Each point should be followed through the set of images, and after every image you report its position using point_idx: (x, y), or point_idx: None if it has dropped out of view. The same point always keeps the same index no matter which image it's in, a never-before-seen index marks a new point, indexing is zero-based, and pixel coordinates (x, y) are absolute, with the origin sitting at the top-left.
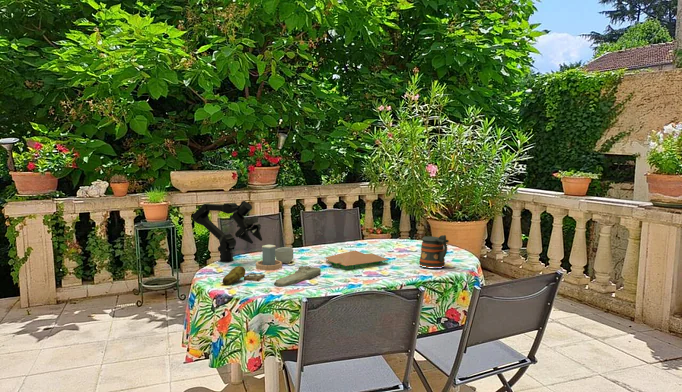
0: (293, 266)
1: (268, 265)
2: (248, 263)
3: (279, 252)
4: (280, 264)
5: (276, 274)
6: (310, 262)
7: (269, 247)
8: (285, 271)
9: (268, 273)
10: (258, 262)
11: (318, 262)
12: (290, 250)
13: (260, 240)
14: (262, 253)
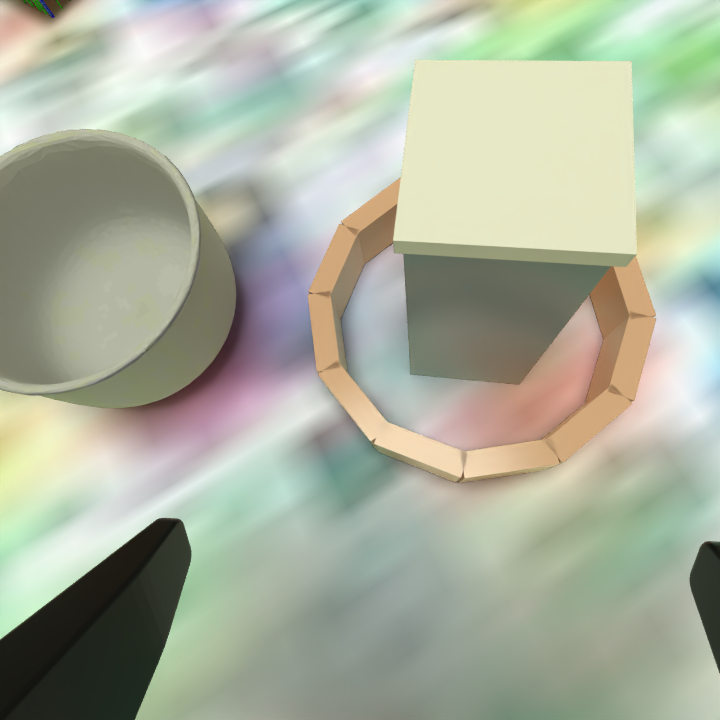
0: (290, 159)
1: None
2: (386, 710)
3: (203, 256)
4: None
5: (647, 134)
6: (92, 112)
7: (630, 71)
8: None
9: (664, 215)
10: (519, 443)
11: (72, 61)
12: (117, 133)
13: (185, 577)
14: (572, 315)
